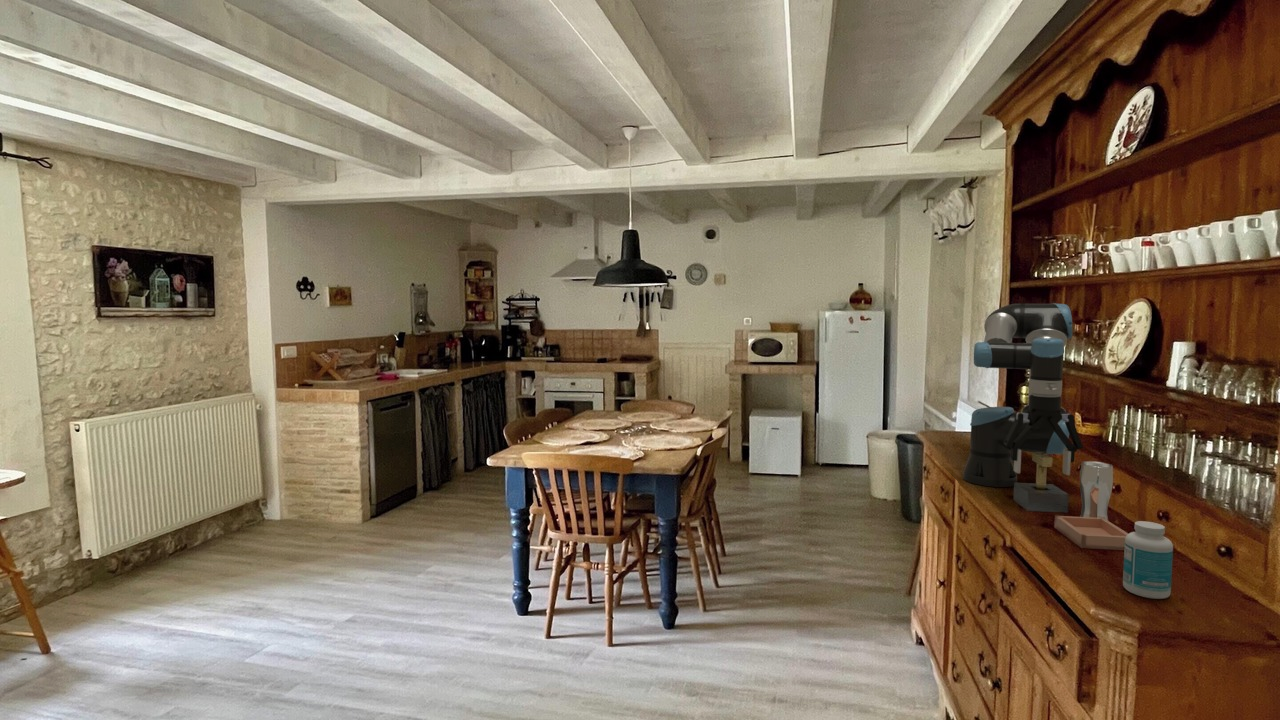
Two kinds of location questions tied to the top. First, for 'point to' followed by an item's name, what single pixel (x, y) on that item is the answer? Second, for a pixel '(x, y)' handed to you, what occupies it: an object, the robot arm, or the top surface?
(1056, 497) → the grey square block
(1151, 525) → the pill bottle
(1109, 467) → the beer glass
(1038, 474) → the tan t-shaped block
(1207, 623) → the top surface
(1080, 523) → the pale pink tray
